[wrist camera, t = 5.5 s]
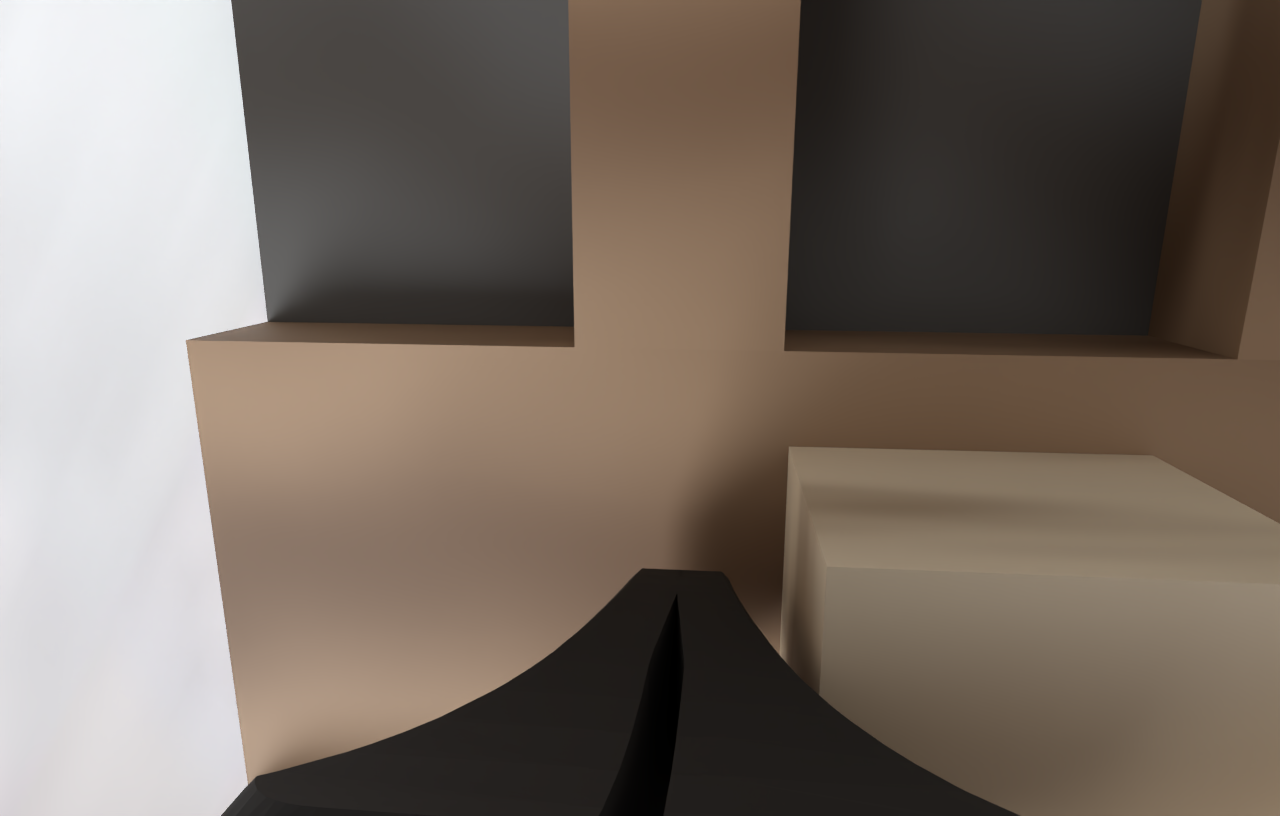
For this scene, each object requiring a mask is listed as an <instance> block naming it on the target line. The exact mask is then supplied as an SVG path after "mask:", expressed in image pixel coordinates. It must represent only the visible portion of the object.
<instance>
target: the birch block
mask: <svg viewBox="0 0 1280 816" xmlns="http://www.w3.org/2000/svg"><path fill="white" fill-rule="evenodd" d="M780 656H781V657H782V658H783V659H784V661H785V662H786V663H787V664H788V665H789V666H790V667H791V668H792V669H793V671H794V672H795V673H796V674H797V675H798V676H799V677H800V678H801V679H802V680H803V681H804V682H805V683H806V684H807V685H808V686H809V687H811V688H812V689H813V690H814V691H815V692H816V693H817V694H819V695H820V696H821V697H822V698H823V699H824V700H825V701H826V702H828V703H829V704H830V705H831V706H832V707H833V708H835V709H836V710H837V711H839V712H840V713H841V714H842V715H844V716H845V717H846V718H848V719H849V720H850V721H851V722H853V723H854V724H856V725H857V726H859V727H860V728H861V729H863V730H864V731H866V732H867V733H869V734H870V735H871V736H873V737H874V738H876V739H877V740H879V741H880V742H881V743H883V744H884V745H886V746H887V747H889V748H890V749H892V750H894V751H895V752H897V753H899V754H900V755H902V756H903V757H905V758H907V759H908V760H910V761H912V762H913V763H915V764H917V765H919V766H920V767H922V768H924V769H926V770H928V771H929V772H931V773H933V774H935V775H937V776H939V777H940V778H942V779H944V780H946V781H948V782H949V783H951V784H953V785H955V786H957V787H959V788H961V789H963V790H965V791H967V792H969V793H971V794H973V795H975V796H978V797H980V798H982V799H984V800H987V801H989V802H991V803H993V804H996V805H998V806H1000V807H1002V808H1005V809H1007V810H1009V811H1011V812H1013V813H1016V814H1018V815H1020V816H1280V524H1279V523H1278V522H1276V521H1274V520H1272V519H1270V518H1268V517H1266V516H1265V515H1263V514H1261V513H1259V512H1257V511H1255V510H1253V509H1252V508H1250V507H1248V506H1246V505H1244V504H1242V503H1240V502H1239V501H1237V500H1235V499H1233V498H1231V497H1229V496H1227V495H1226V494H1224V493H1222V492H1220V491H1218V490H1216V489H1214V488H1213V487H1211V486H1209V485H1207V484H1205V483H1203V482H1201V481H1200V480H1198V479H1196V478H1194V477H1192V476H1190V475H1188V474H1187V473H1185V472H1183V471H1181V470H1179V469H1177V468H1175V467H1173V466H1172V465H1170V464H1168V463H1166V462H1164V461H1162V460H1160V459H1159V458H1157V457H1155V456H1153V455H1116V454H1075V453H1034V452H993V451H952V450H911V449H870V448H829V447H789V454H788V477H787V499H786V522H785V544H784V567H783V589H782V612H781V634H780Z"/></svg>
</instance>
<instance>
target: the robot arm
mask: <svg viewBox="0 0 1280 816" xmlns="http://www.w3.org/2000/svg"><path fill="white" fill-rule="evenodd" d="M221 816H1020V815H1018V814H1016V813H1013V812H1011V811H1009V810H1007V809H1005V808H1002V807H1000V806H998V805H996V804H993V803H991V802H989V801H987V800H984V799H982V798H980V797H978V796H975V795H973V794H971V793H969V792H967V791H965V790H963V789H961V788H959V787H957V786H955V785H953V784H951V783H949V782H948V781H946V780H944V779H942V778H940V777H939V776H937V775H935V774H933V773H931V772H929V771H928V770H926V769H924V768H922V767H920V766H919V765H917V764H915V763H913V762H912V761H910V760H908V759H907V758H905V757H903V756H902V755H900V754H899V753H897V752H895V751H894V750H892V749H890V748H889V747H887V746H886V745H884V744H883V743H881V742H880V741H879V740H877V739H876V738H874V737H873V736H871V735H870V734H869V733H867V732H866V731H864V730H863V729H861V728H860V727H859V726H857V725H856V724H854V723H853V722H851V721H850V720H849V719H848V718H846V717H845V716H844V715H842V714H841V713H840V712H839V711H837V710H836V709H835V708H833V707H832V706H831V705H830V704H829V703H828V702H826V701H825V700H824V699H823V698H822V697H821V696H820V695H819V694H817V693H816V692H815V691H814V690H813V689H812V688H811V687H809V686H808V685H807V684H806V683H805V682H804V681H803V680H802V679H801V678H800V677H799V676H798V675H797V674H796V673H795V672H794V671H793V669H792V668H791V667H790V666H789V665H788V664H787V663H786V662H785V661H784V659H783V658H782V657H781V656H780V655H779V654H778V652H777V651H776V650H775V649H774V648H773V646H772V645H771V644H770V643H769V641H768V640H767V639H766V637H765V636H764V635H763V633H762V632H761V631H760V629H759V628H758V627H757V625H756V624H755V623H754V621H753V620H752V618H751V617H750V615H749V614H748V612H747V611H746V609H745V608H744V606H743V605H742V603H741V601H740V600H739V598H738V596H737V595H736V593H735V591H734V589H733V587H732V585H731V583H730V580H729V579H728V578H727V576H726V575H725V574H724V573H723V572H722V571H697V570H672V569H647V568H642V569H641V570H640V571H638V572H637V573H636V574H635V575H634V576H633V577H632V578H631V579H630V580H629V581H628V582H627V583H626V585H625V586H624V587H623V588H622V589H621V590H620V591H619V592H618V593H617V594H616V595H615V596H614V597H613V598H612V599H611V600H610V601H609V602H608V603H607V604H606V605H605V606H604V607H603V608H602V609H601V610H600V611H599V612H598V613H597V614H596V615H595V616H594V617H593V618H592V619H591V620H590V621H589V622H588V623H587V624H585V625H584V626H583V627H582V628H581V629H580V630H579V631H578V632H577V633H575V634H574V635H573V636H572V637H570V638H569V639H568V640H567V641H566V642H564V643H563V644H562V645H561V646H560V647H558V648H557V649H556V650H555V651H553V652H552V653H551V654H549V655H548V656H547V657H545V658H544V659H542V660H541V661H540V662H538V663H537V664H535V665H534V666H532V667H531V668H529V669H528V670H526V671H524V672H523V673H521V674H520V675H518V676H517V677H515V678H513V679H512V680H510V681H509V682H507V683H505V684H504V685H502V686H500V687H498V688H497V689H495V690H493V691H491V692H489V693H487V694H485V695H483V696H481V697H479V698H477V699H475V700H473V701H471V702H469V703H467V704H465V705H463V706H461V707H459V708H457V709H455V710H453V711H451V712H449V713H447V714H445V715H443V716H441V717H439V718H437V719H434V720H432V721H429V722H427V723H425V724H422V725H420V726H417V727H415V728H412V729H410V730H408V731H405V732H402V733H400V734H397V735H394V736H391V737H389V738H386V739H383V740H380V741H378V742H375V743H372V744H369V745H366V746H363V747H360V748H357V749H354V750H351V751H348V752H344V753H341V754H337V755H334V756H330V757H326V758H323V759H319V760H316V761H312V762H308V763H305V764H301V765H298V766H294V767H290V768H287V769H283V770H280V771H276V772H272V773H267V774H263V775H259V776H256V777H255V778H254V779H253V780H252V781H251V782H250V784H249V785H248V786H247V787H246V788H245V789H244V790H243V791H242V792H241V793H240V795H239V796H238V797H237V798H236V799H235V800H234V801H233V803H232V804H231V805H230V806H229V807H228V808H227V809H226V811H225V812H224V813H223V814H222V815H221Z"/></svg>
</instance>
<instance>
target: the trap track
mask: <svg viewBox="0 0 1280 816" xmlns="http://www.w3.org/2000/svg"><path fill="white" fill-rule="evenodd" d="M231 2H232V10H233V19H234V28H235V37H236V46H237V54H238V63H239V72H240V81H241V90H242V98H243V107H244V116H245V125H246V134H247V142H248V151H249V160H250V169H251V178H252V186H253V195H254V204H255V213H256V222H257V230H258V239H259V248H260V257H261V266H262V274H263V283H264V292H265V301H266V309H267V318H268V322H265V323H261V324H256V325H252V326H247V327H243V328H239V329H234V330H230V331H225V332H221V333H216V334H212V335H207V336H203V337H199V338H194V339H190V340H186V344H187V351H188V358H189V365H190V373H191V380H192V387H193V394H194V401H195V408H196V415H197V423H198V430H199V437H200V444H201V451H202V458H203V465H204V473H205V480H206V487H207V494H208V501H209V508H210V515H211V523H212V530H213V537H214V544H215V551H216V558H217V565H218V573H219V580H220V587H221V594H222V601H223V608H224V615H225V622H226V630H227V637H228V644H229V651H230V658H231V665H232V672H233V680H234V687H235V694H236V701H237V708H238V715H239V722H240V730H241V737H242V744H243V751H244V758H245V765H246V772H247V780H248V785H249V784H250V782H251V781H252V780H253V779H254V778H255V777H256V776H259V775H263V774H267V773H272V772H276V771H280V770H283V769H287V768H290V767H294V766H298V765H301V764H305V763H308V762H312V761H316V760H319V759H323V758H326V757H330V756H334V755H337V754H341V753H344V752H348V751H351V750H354V749H357V748H360V747H363V746H366V745H369V744H372V743H375V742H378V741H380V740H383V739H386V738H389V737H391V736H394V735H397V734H400V733H402V732H405V731H408V730H410V729H412V728H415V727H417V726H420V725H422V724H425V723H427V722H429V721H432V720H434V719H437V718H439V717H441V716H443V715H445V714H447V713H449V712H451V711H453V710H455V709H457V708H459V707H461V706H463V705H465V704H467V703H469V702H471V701H473V700H475V699H477V698H479V697H481V696H483V695H485V694H487V693H489V692H491V691H493V690H495V689H497V688H498V687H500V686H502V685H504V684H505V683H507V682H509V681H510V680H512V679H513V678H515V677H517V676H518V675H520V674H521V673H523V672H524V671H526V670H528V669H529V668H531V667H532V666H534V665H535V664H537V663H538V662H540V661H541V660H542V659H544V658H545V657H547V656H548V655H549V654H551V653H552V652H553V651H555V650H556V649H557V648H558V647H560V646H561V645H562V644H563V643H564V642H566V641H567V640H568V639H569V638H570V637H572V636H573V635H574V634H575V633H577V632H578V631H579V630H580V629H581V628H582V627H583V626H584V625H585V624H587V623H588V622H589V621H590V620H591V619H592V618H593V617H594V616H595V615H596V614H597V613H598V612H599V611H600V610H601V609H602V608H603V607H604V606H605V605H606V604H607V603H608V602H609V601H610V600H611V599H612V598H613V597H614V596H615V595H616V594H617V593H618V592H619V591H620V590H621V589H622V588H623V587H624V586H625V585H626V583H627V582H628V581H629V580H630V579H631V578H632V577H633V576H634V575H635V574H636V573H637V572H638V571H640V570H641V569H642V568H647V569H672V570H697V571H722V572H723V573H724V574H725V575H726V576H727V578H728V579H729V580H730V583H731V585H732V587H733V589H734V591H735V593H736V595H737V596H738V598H739V600H740V601H741V603H742V605H743V606H744V608H745V609H746V611H747V612H748V614H749V615H750V617H751V618H752V620H753V621H754V623H755V624H756V625H757V627H758V628H759V629H760V631H761V632H762V633H763V635H764V636H765V637H766V639H767V640H768V641H769V643H770V644H771V645H772V646H773V648H774V649H775V650H776V651H777V652H778V654H779V655H780V634H781V612H782V589H783V567H784V544H785V522H786V499H787V477H788V454H789V447H829V448H870V449H911V450H952V451H993V452H1034V453H1075V454H1116V455H1153V456H1155V457H1157V458H1159V459H1160V460H1162V461H1164V462H1166V463H1168V464H1170V465H1172V466H1173V467H1175V468H1177V469H1179V470H1181V471H1183V472H1185V473H1187V474H1188V475H1190V476H1192V477H1194V478H1196V479H1198V480H1200V481H1201V482H1203V483H1205V484H1207V485H1209V486H1211V487H1213V488H1214V489H1216V490H1218V491H1220V492H1222V493H1224V494H1226V495H1227V496H1229V497H1231V498H1233V499H1235V500H1237V501H1239V502H1240V503H1242V504H1244V505H1246V506H1248V507H1250V508H1252V509H1253V510H1255V511H1257V512H1259V513H1261V514H1263V515H1265V516H1266V517H1268V518H1270V519H1272V520H1274V521H1276V522H1278V523H1279V524H1280V0H231Z"/></svg>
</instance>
